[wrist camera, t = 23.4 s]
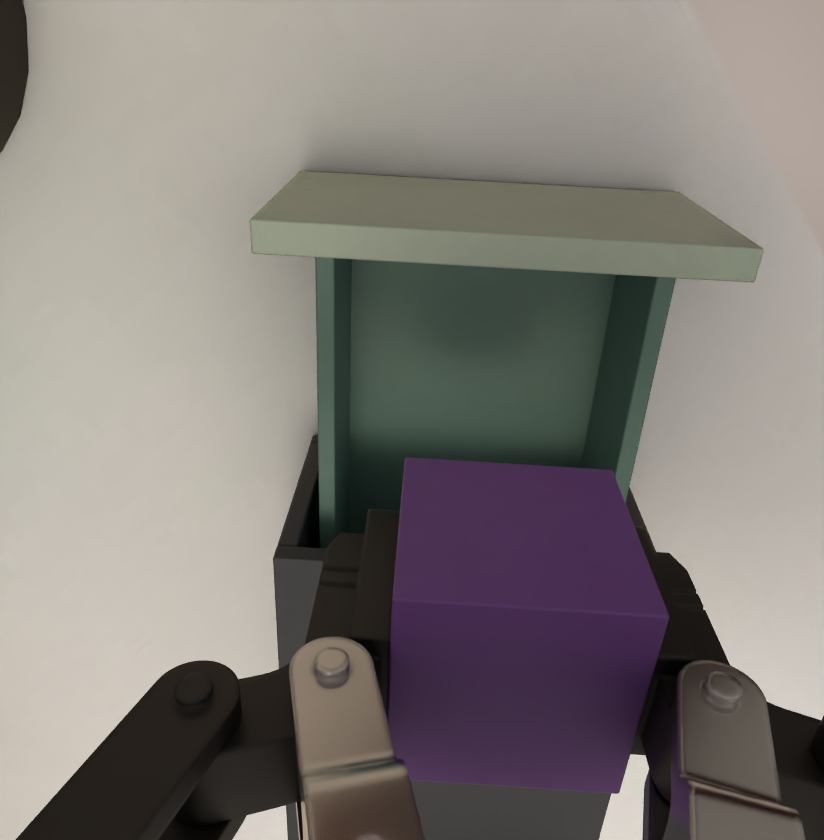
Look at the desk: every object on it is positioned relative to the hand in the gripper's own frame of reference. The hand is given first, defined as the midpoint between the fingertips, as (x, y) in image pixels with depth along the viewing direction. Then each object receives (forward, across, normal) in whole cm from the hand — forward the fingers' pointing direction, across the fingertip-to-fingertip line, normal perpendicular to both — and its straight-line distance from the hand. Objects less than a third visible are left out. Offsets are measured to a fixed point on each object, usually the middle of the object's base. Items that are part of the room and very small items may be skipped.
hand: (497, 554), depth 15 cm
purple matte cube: (0, 0, 0) cm, 0 cm away
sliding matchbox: (+11, 0, +7) cm, 13 cm away
